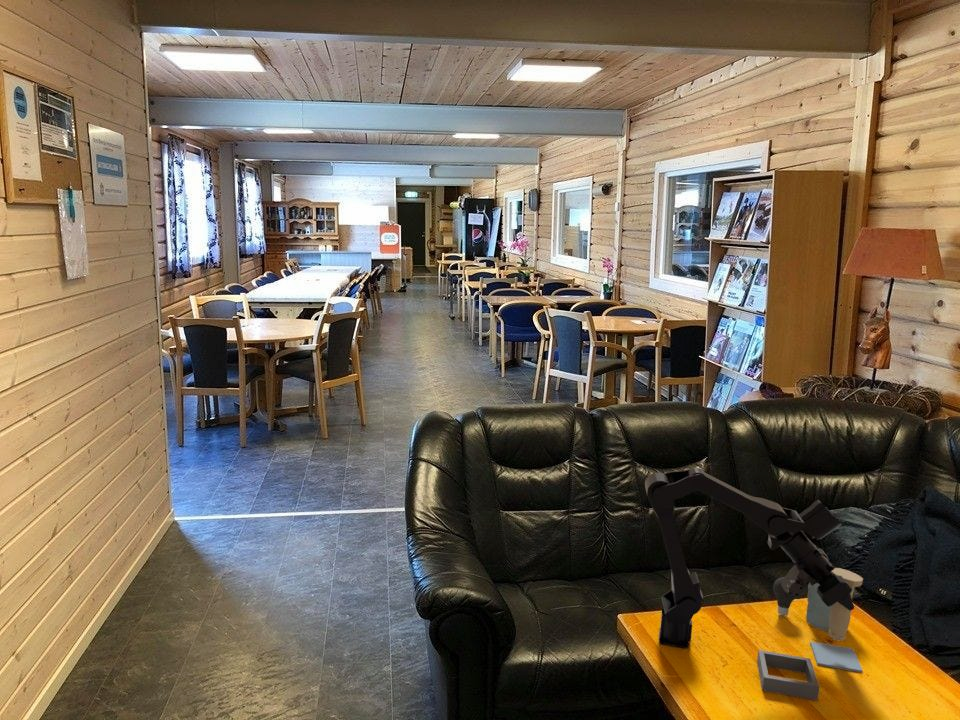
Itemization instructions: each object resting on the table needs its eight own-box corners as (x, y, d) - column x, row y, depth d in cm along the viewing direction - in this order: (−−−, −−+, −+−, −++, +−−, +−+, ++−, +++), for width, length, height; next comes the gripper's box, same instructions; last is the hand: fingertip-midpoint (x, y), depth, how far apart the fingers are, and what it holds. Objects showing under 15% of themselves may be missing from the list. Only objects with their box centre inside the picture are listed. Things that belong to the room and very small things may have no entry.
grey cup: (795, 612, 181) (800, 567, 179) (833, 611, 182) (839, 567, 180) (818, 634, 171) (824, 587, 169) (858, 633, 172) (864, 586, 170)
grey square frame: (762, 690, 149) (763, 677, 148) (757, 662, 159) (758, 649, 158) (817, 700, 146) (819, 687, 146) (808, 671, 156) (810, 658, 156)
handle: (844, 647, 157) (854, 583, 154) (816, 633, 162) (826, 570, 160) (856, 642, 159) (867, 578, 157) (829, 628, 165) (839, 566, 162)
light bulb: (796, 623, 176) (801, 584, 174) (772, 620, 177) (776, 581, 175) (792, 611, 181) (796, 574, 180) (768, 608, 183) (772, 571, 181)
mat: (817, 664, 159) (817, 662, 159) (810, 643, 167) (810, 641, 167) (862, 672, 156) (862, 670, 156) (852, 650, 165) (853, 648, 165)
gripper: (762, 555, 170) (805, 604, 170) (782, 592, 152) (831, 647, 152) (801, 526, 168) (845, 576, 168) (827, 560, 149) (876, 617, 150)
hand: (848, 603), depth 159 cm, fingers closed on handle, 4 cm apart
